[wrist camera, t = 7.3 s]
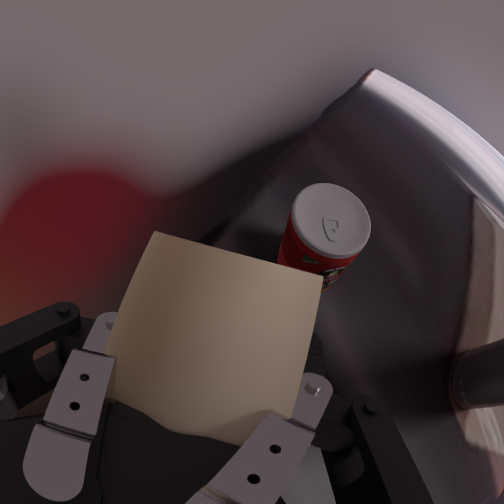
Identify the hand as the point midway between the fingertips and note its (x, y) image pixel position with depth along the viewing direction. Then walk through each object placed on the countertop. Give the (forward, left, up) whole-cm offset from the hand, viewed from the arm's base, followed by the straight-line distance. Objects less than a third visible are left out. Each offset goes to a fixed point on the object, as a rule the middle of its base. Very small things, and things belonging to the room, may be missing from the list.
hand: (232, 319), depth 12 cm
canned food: (-11, -8, -18) cm, 23 cm away
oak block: (+1, +2, -5) cm, 5 cm away
